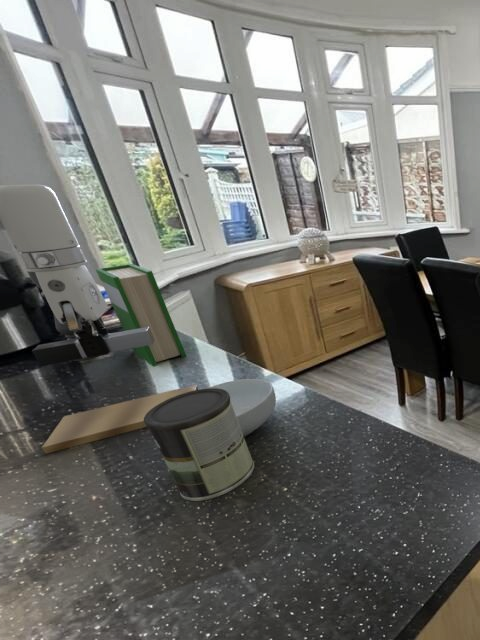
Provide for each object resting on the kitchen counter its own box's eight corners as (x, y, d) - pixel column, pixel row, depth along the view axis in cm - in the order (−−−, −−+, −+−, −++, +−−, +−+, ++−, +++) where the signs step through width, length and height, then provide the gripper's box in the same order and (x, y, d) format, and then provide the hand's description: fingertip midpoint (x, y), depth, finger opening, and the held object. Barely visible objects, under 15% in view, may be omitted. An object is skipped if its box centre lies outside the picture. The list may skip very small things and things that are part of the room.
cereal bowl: (234, 403, 86) (223, 375, 83) (300, 410, 82) (292, 381, 79) (155, 454, 70) (139, 422, 68) (233, 465, 67) (219, 431, 64)
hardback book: (186, 356, 109) (151, 271, 99) (153, 366, 104) (112, 277, 94) (165, 342, 119) (131, 263, 109) (133, 351, 113) (95, 269, 103)
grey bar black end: (154, 339, 83) (148, 325, 81) (152, 344, 80) (146, 330, 79) (47, 360, 75) (38, 344, 73) (40, 366, 72) (31, 350, 71)
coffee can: (170, 510, 58) (130, 433, 53) (190, 467, 67) (158, 396, 61) (249, 489, 62) (220, 414, 56) (259, 450, 71) (234, 382, 65)
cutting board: (45, 454, 71) (41, 447, 71) (67, 422, 81) (63, 416, 80) (194, 414, 82) (191, 408, 82) (198, 390, 91) (196, 384, 91)
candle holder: (66, 360, 109) (18, 271, 99) (91, 351, 114) (48, 266, 104) (84, 361, 108) (37, 271, 98) (109, 352, 113) (67, 266, 103)
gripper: (69, 263, 65) (117, 361, 73) (95, 249, 78) (134, 334, 85) (3, 270, 62) (60, 373, 69) (42, 254, 74) (87, 343, 82)
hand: (101, 351), depth 77 cm, fingers closed on grey bar black end, 3 cm apart
